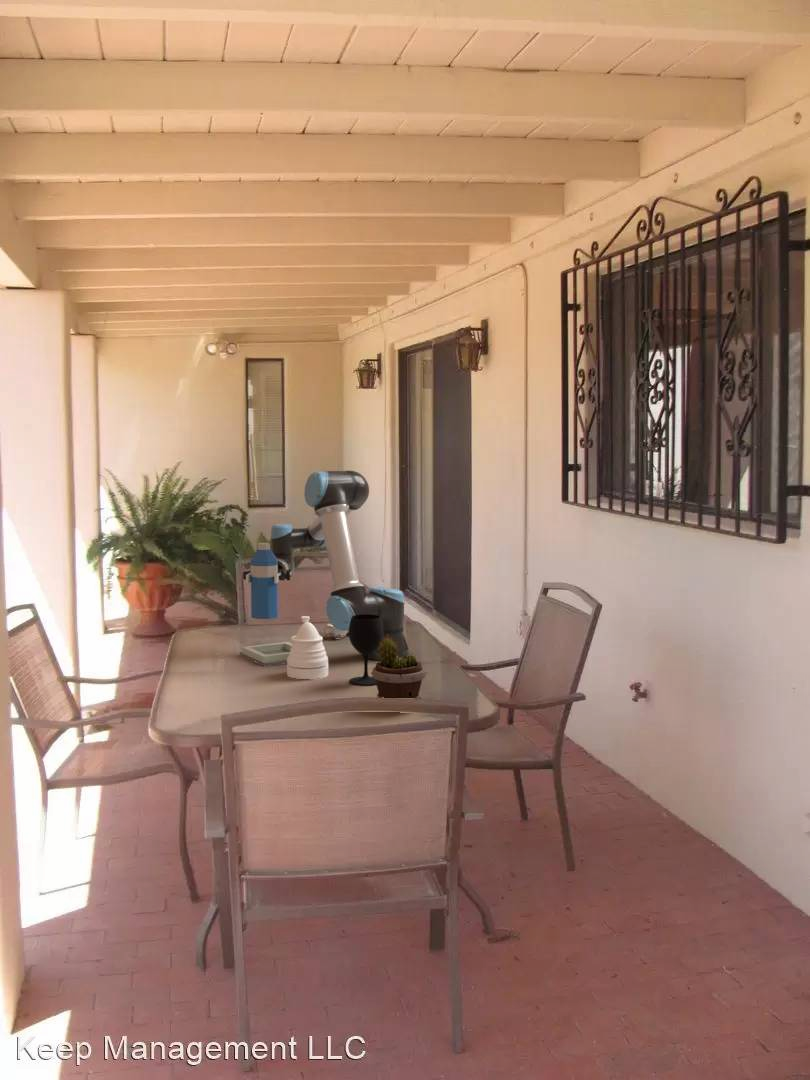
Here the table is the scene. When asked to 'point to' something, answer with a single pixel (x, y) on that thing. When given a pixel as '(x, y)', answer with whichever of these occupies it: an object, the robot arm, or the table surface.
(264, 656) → the pale green tray
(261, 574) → the water bottle
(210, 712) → the table surface
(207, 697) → the table surface
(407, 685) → the flowerpot
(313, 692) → the table surface
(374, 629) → the wine glass
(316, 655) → the honey pot
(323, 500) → the robot arm
